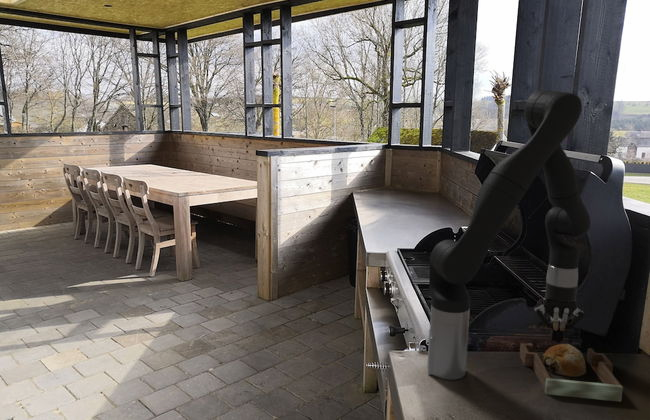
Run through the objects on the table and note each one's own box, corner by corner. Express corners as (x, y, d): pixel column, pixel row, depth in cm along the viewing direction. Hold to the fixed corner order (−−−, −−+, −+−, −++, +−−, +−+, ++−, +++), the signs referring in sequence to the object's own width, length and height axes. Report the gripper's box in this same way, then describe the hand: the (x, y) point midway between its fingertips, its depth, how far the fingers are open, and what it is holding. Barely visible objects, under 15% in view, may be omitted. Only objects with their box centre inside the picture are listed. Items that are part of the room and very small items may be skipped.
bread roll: (581, 393, 120) (600, 367, 118) (543, 372, 121) (560, 346, 119) (569, 373, 129) (586, 349, 127) (534, 354, 130) (550, 330, 128)
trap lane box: (536, 393, 113) (538, 379, 112) (519, 354, 132) (520, 342, 131) (630, 402, 109) (632, 388, 109) (598, 361, 128) (600, 349, 127)
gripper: (539, 284, 128) (533, 346, 131) (593, 287, 126) (586, 350, 129) (532, 276, 135) (527, 334, 138) (583, 278, 133) (577, 338, 136)
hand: (556, 341), depth 133 cm, fingers closed
